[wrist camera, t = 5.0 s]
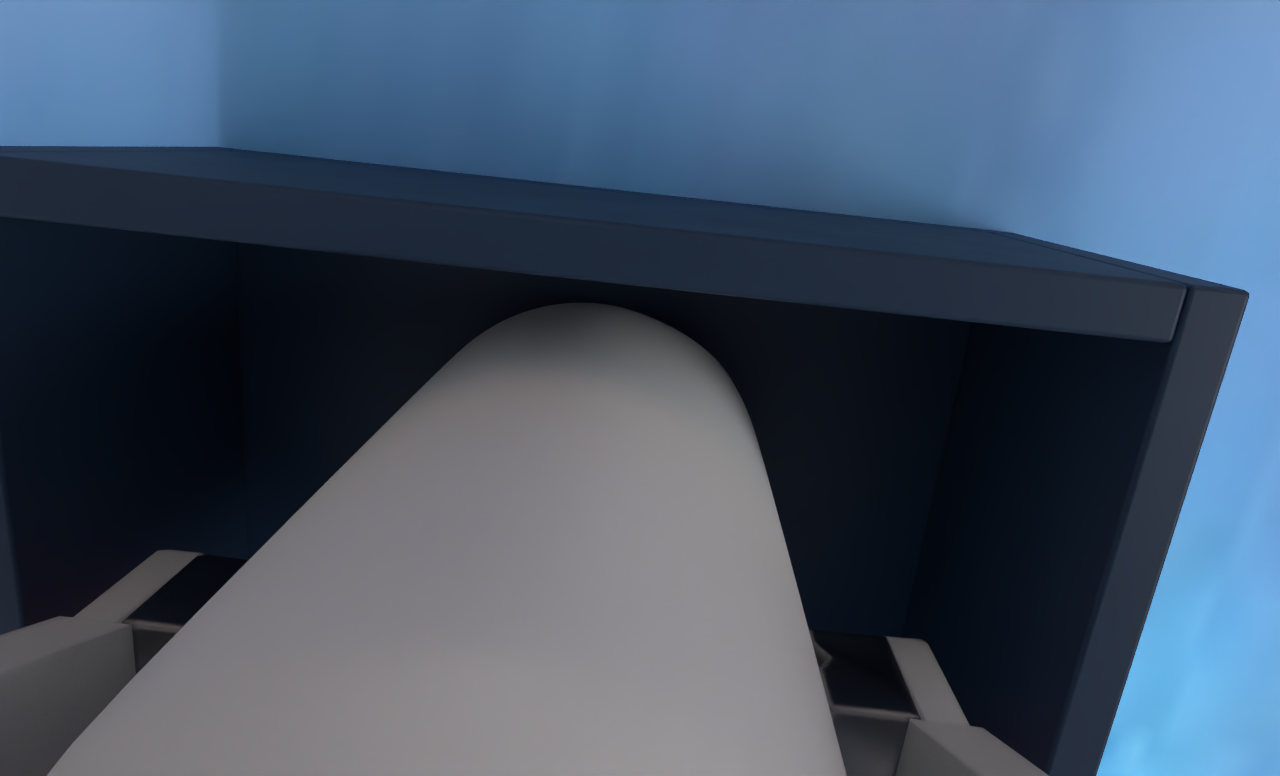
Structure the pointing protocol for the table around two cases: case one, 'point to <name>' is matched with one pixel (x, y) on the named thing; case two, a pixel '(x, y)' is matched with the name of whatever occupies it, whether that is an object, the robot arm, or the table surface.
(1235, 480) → the table surface
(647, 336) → the can
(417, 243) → the case
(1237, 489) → the table surface
